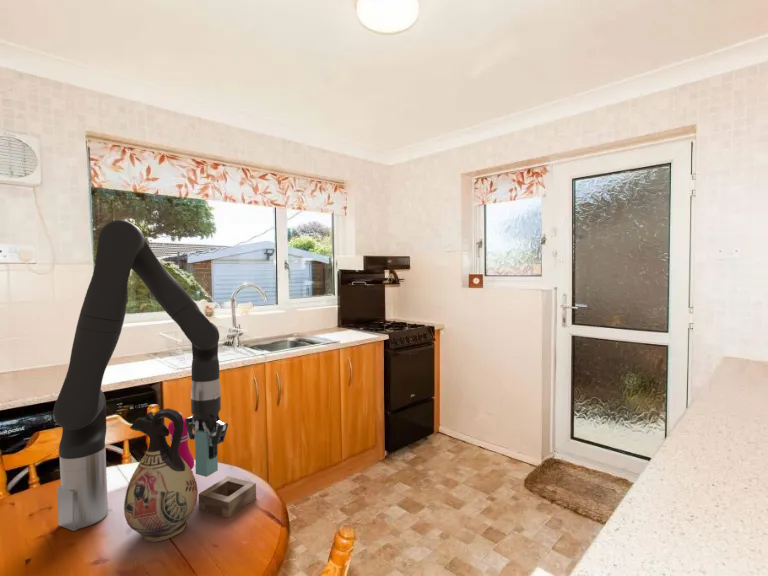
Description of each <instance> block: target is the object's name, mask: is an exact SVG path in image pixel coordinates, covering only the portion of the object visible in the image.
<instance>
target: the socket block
mask: <svg viewBox="0 0 768 576" xmlns="http://www.w3.org/2000/svg"><path fill="white" fill-rule="evenodd" d="M256 498H257V483H256V482H252V481H247V480H244V479H241V478H236V477H233V476H228V475H227V476H225V477H224V478H222V479H221V480H219V481H217V482H216V483H214V484H212V485H211V486H209V487H207V488H206V489H204V490H203V491H201V492H200V493H198V510H201V511H204V512H207V513H211V514H214V515H217V516H220V517H223V518H227V519H230V518H231V517H232V516H234V515H236V513H238V512H239V511H240V510H242V509H243V508H244V507H246V506H248V505H249V503H251V502H253V501H254V500H255V499H256Z"/></svg>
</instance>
